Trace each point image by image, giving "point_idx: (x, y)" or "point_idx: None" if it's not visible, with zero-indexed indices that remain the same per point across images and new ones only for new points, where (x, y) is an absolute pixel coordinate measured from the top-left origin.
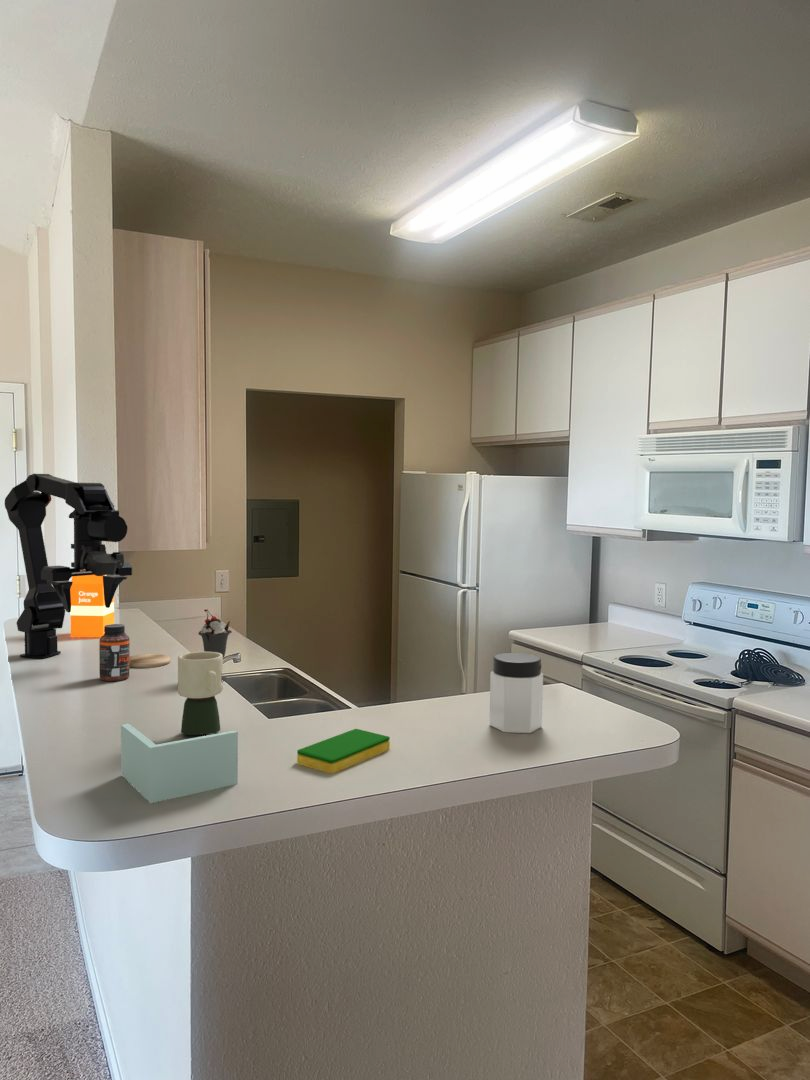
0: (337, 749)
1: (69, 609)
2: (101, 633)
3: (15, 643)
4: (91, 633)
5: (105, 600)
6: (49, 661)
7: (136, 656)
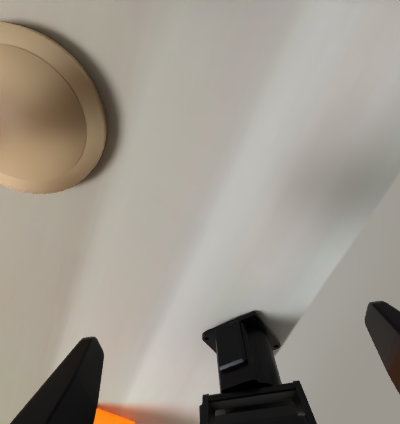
0: None
1: (394, 314)
2: None
3: None
4: (98, 420)
5: (90, 405)
6: (253, 286)
7: (50, 171)
